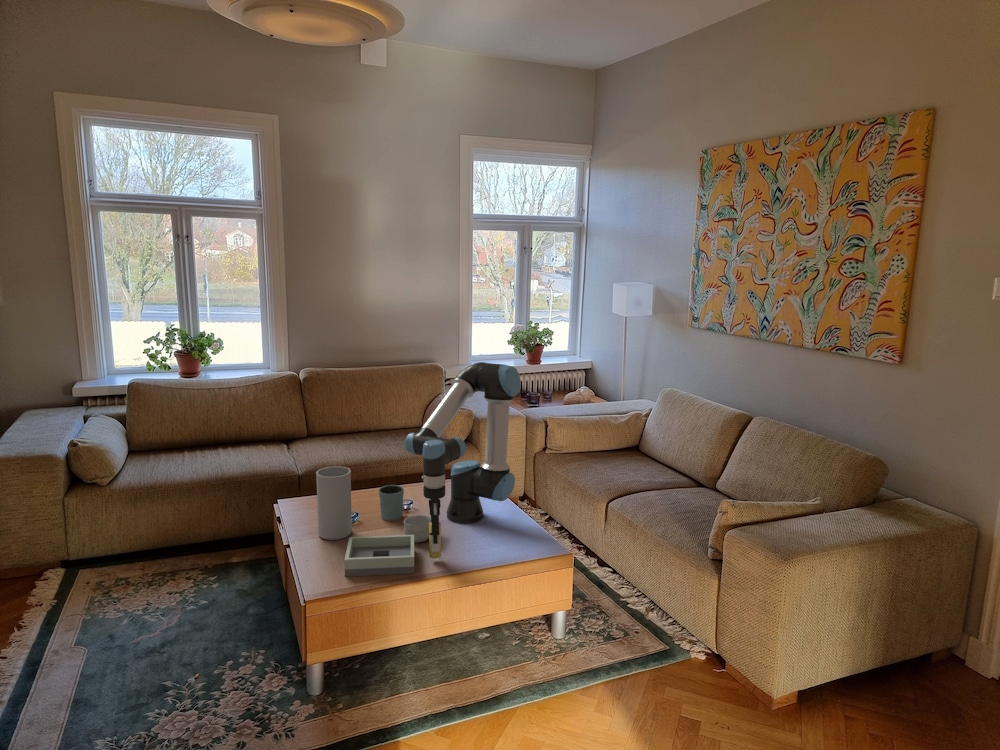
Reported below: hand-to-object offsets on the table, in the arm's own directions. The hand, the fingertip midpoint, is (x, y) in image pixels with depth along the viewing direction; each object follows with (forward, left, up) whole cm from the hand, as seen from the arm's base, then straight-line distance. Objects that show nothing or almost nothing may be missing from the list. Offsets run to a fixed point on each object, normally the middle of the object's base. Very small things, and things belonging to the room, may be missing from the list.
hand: (435, 548), depth 234 cm
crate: (+19, -1, -5) cm, 19 cm away
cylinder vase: (+37, -27, -5) cm, 46 cm away
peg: (0, 0, -3) cm, 3 cm away
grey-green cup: (+16, -42, -5) cm, 45 cm away
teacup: (+4, -20, -5) cm, 21 cm away
